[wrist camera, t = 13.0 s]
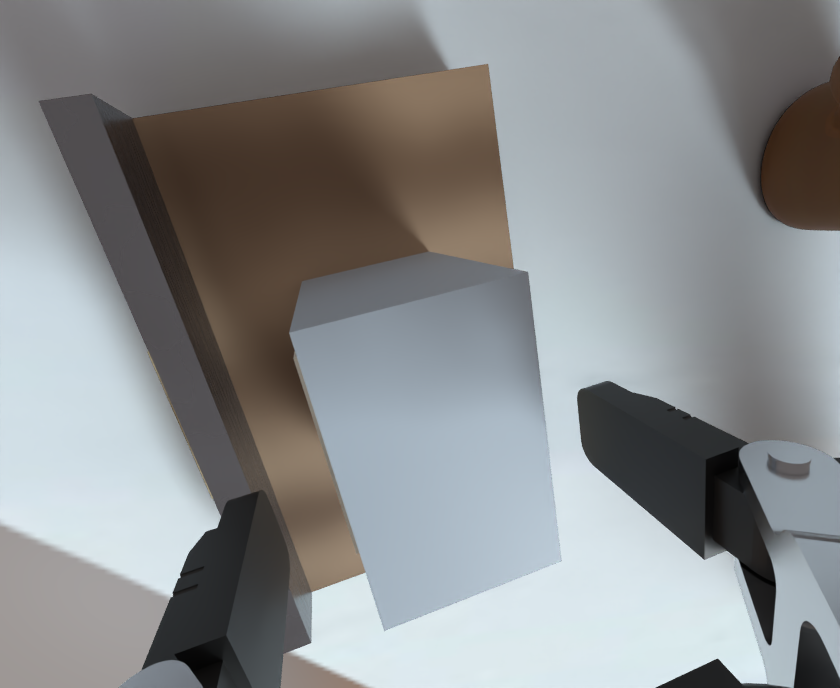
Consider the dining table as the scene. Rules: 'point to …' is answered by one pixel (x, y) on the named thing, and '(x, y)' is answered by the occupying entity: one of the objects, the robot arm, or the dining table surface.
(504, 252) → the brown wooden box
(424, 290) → the carton
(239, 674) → the robot arm
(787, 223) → the mug
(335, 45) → the dining table surface
